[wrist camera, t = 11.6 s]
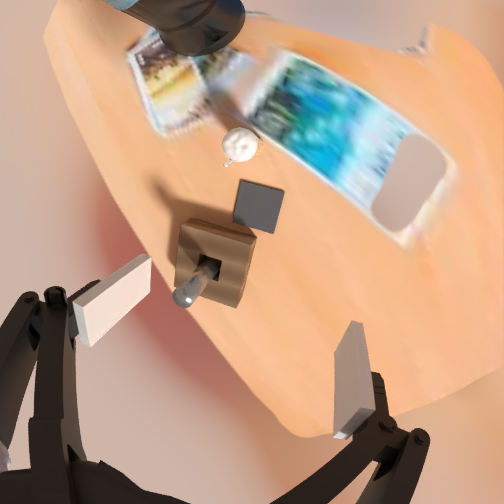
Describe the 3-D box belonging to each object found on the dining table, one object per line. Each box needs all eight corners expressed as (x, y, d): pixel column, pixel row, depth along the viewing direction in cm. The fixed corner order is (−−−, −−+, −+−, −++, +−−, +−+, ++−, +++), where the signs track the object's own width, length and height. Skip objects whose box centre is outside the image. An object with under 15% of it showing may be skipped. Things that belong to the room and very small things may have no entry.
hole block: (191, 218, 47) (180, 224, 43) (256, 237, 45) (251, 245, 42) (183, 277, 52) (173, 286, 48) (242, 297, 50) (236, 308, 46)
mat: (241, 180, 43) (241, 181, 42) (284, 192, 42) (284, 192, 41) (233, 221, 45) (232, 222, 45) (273, 233, 44) (273, 233, 44)
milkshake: (232, 156, 42) (209, 158, 32) (247, 127, 39) (227, 120, 30) (257, 169, 41) (240, 174, 32) (273, 139, 39) (260, 135, 30)
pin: (210, 249, 48) (173, 285, 35) (226, 254, 48) (193, 293, 35) (207, 264, 49) (171, 303, 37) (223, 269, 49) (191, 310, 36)
